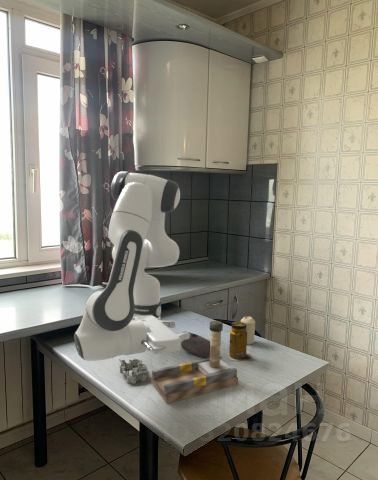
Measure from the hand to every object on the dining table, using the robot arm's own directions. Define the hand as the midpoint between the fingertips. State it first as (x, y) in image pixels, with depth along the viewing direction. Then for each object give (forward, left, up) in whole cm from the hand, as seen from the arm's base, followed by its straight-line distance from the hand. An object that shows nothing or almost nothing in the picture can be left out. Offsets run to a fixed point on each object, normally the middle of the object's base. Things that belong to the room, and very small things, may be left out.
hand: (181, 329), depth 110 cm
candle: (+9, +42, -19) cm, 47 cm away
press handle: (+7, +10, -16) cm, 20 cm away
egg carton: (-16, +1, -19) cm, 25 cm away
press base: (+3, +4, -18) cm, 19 cm away
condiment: (+10, +29, -19) cm, 36 cm away
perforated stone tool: (-3, +23, -19) cm, 29 cm away
